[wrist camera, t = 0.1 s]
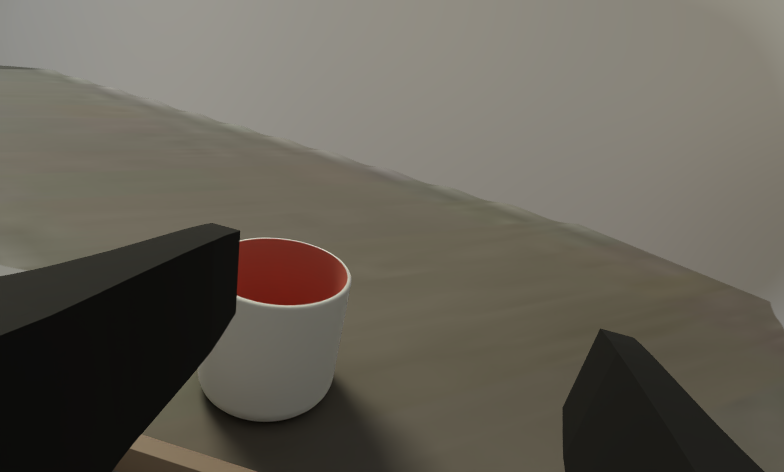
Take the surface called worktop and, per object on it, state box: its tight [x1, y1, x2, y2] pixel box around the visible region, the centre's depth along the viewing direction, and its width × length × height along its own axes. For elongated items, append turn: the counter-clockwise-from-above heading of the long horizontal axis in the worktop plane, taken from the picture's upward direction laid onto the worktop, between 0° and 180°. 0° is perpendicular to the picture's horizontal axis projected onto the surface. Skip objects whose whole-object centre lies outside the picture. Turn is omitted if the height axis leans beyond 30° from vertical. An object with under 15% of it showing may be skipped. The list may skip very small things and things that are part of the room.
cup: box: [198, 238, 351, 422], centre depth 36 cm, size 10×10×10 cm
